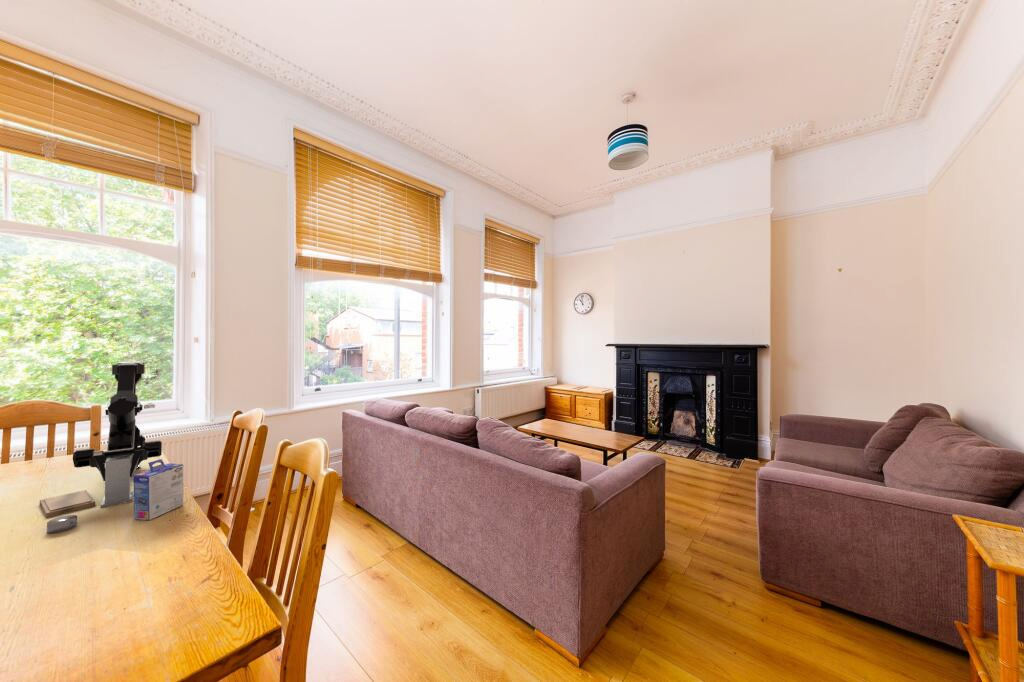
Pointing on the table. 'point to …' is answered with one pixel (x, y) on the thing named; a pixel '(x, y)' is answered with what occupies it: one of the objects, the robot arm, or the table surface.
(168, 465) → the ink cartridge box
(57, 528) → the grey rounded block
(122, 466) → the block
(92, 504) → the stand
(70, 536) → the table surface
